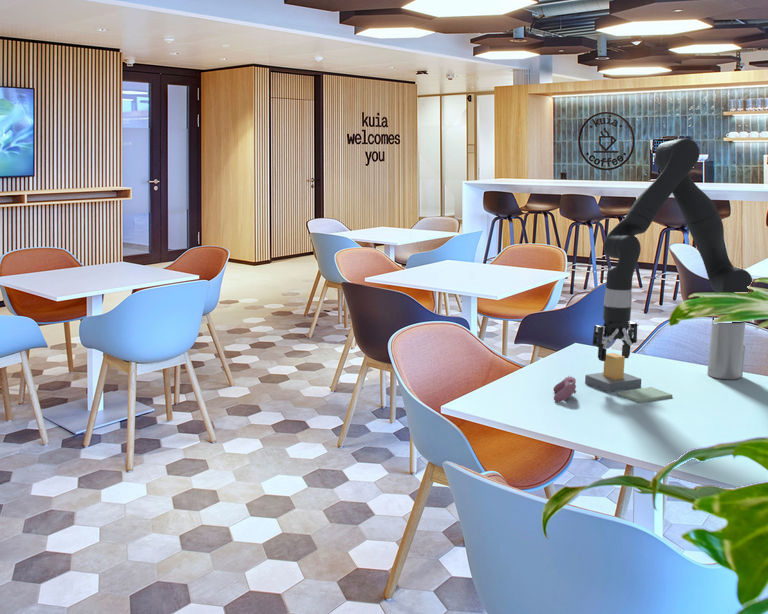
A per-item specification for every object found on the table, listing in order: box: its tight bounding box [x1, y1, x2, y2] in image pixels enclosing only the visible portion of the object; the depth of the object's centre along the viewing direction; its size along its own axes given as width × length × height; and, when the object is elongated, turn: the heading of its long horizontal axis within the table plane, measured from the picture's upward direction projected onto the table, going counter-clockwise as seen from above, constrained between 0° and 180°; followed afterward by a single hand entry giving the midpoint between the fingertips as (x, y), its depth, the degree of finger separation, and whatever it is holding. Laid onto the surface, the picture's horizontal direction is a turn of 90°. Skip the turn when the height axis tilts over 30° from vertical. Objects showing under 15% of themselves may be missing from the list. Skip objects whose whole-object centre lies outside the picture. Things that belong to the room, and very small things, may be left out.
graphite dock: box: [584, 372, 642, 393], centre depth 228 cm, size 12×10×2 cm
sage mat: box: [618, 386, 673, 404], centre depth 218 cm, size 12×8×1 cm, turn 115°
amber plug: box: [602, 352, 626, 380], centre depth 227 cm, size 3×5×9 cm
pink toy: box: [553, 375, 577, 403], centre depth 216 cm, size 10×5×7 cm, turn 169°
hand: (613, 359), depth 227 cm, fingers open, 8 cm apart
